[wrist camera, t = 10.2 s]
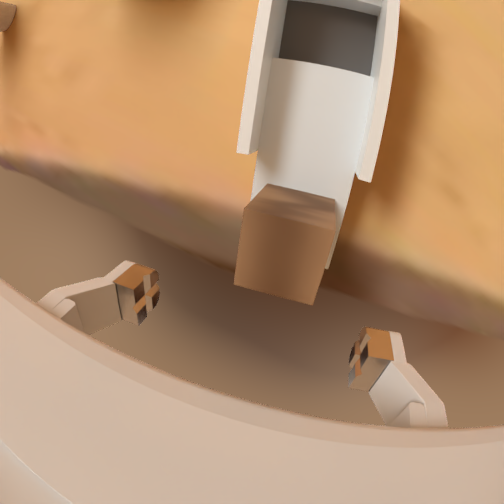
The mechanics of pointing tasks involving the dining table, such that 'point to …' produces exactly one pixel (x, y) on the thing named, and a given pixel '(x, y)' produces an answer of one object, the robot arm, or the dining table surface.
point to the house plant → (6, 15)
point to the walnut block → (285, 243)
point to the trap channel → (318, 94)
